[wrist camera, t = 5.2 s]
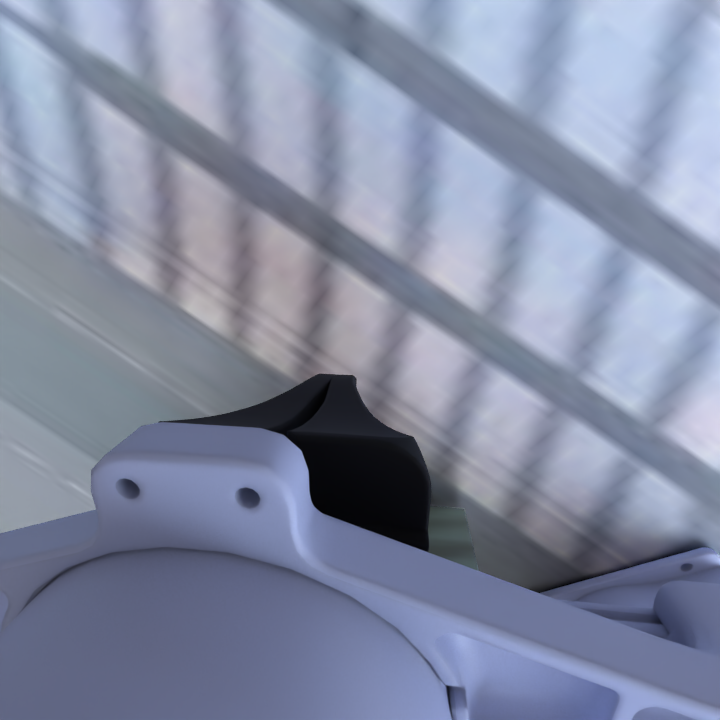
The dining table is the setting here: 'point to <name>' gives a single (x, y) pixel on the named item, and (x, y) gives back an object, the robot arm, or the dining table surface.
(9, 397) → the dining table surface
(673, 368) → the dining table surface
